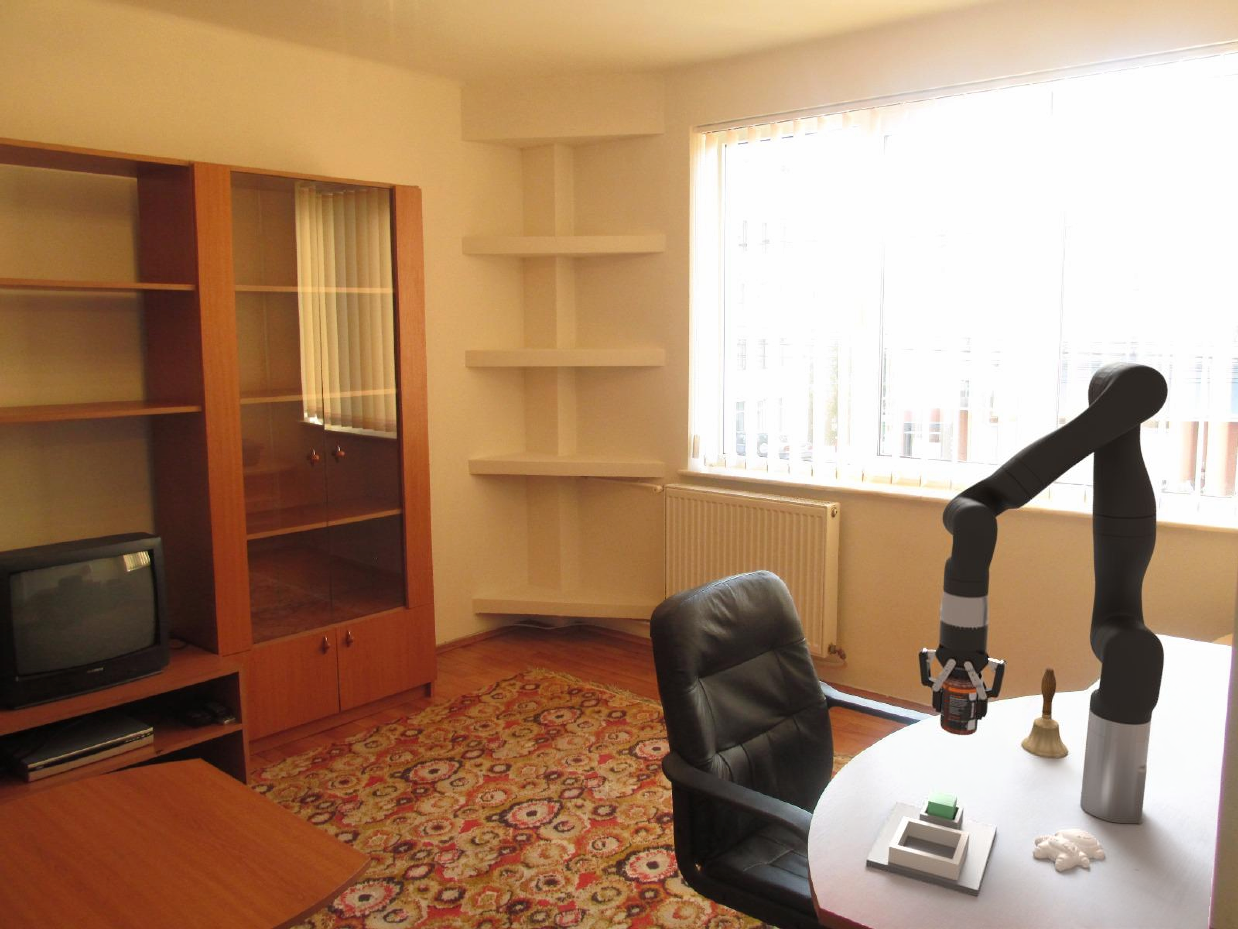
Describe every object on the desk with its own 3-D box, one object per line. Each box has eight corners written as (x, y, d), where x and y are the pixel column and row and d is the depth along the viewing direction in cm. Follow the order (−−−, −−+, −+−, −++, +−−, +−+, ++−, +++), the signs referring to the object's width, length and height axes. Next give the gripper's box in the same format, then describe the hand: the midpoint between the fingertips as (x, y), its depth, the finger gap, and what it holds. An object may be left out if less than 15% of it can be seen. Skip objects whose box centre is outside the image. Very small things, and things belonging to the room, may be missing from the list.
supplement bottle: (982, 737, 162) (986, 671, 160) (946, 737, 162) (949, 671, 160) (970, 722, 168) (973, 658, 166) (935, 721, 168) (938, 658, 166)
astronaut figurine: (1017, 850, 154) (1019, 832, 153) (1070, 832, 159) (1071, 814, 159) (1065, 878, 146) (1067, 860, 146) (1118, 859, 151) (1120, 840, 151)
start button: (955, 815, 159) (957, 796, 158) (951, 825, 155) (952, 807, 155) (931, 809, 161) (932, 791, 160) (926, 819, 157) (928, 801, 157)
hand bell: (1021, 753, 186) (1027, 673, 184) (1021, 736, 194) (1027, 659, 191) (1068, 761, 183) (1076, 680, 181) (1067, 743, 191) (1074, 665, 188)
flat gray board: (996, 832, 158) (997, 811, 158) (977, 896, 141) (979, 874, 140) (895, 807, 166) (897, 787, 165) (866, 865, 148) (867, 844, 148)
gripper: (1013, 618, 162) (1007, 714, 164) (924, 606, 168) (919, 699, 171) (1007, 631, 155) (1001, 731, 158) (914, 618, 162) (910, 714, 164)
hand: (958, 714), depth 164 cm, fingers closed on supplement bottle, 6 cm apart
